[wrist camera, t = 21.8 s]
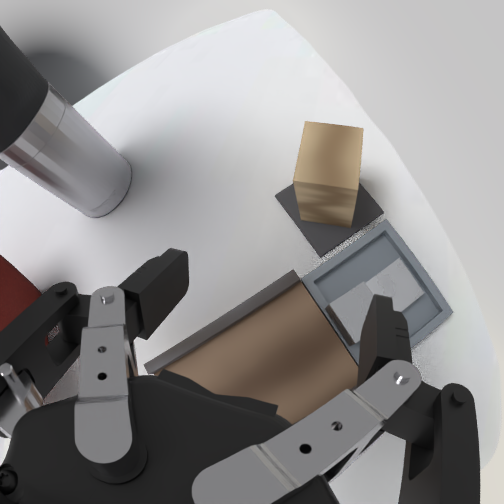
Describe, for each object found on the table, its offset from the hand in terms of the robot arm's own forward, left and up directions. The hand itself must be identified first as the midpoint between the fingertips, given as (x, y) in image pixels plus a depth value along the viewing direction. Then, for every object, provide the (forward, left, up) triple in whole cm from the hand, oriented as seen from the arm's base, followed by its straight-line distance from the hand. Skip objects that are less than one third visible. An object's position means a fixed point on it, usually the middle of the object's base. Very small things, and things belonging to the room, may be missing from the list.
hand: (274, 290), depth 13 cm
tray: (+2, +7, -17) cm, 18 cm away
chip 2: (+3, +9, -15) cm, 17 cm away
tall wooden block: (-8, +9, -17) cm, 21 cm away
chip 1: (+2, +4, -16) cm, 16 cm away
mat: (-8, +9, -17) cm, 21 cm away
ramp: (+2, -6, -17) cm, 18 cm away
